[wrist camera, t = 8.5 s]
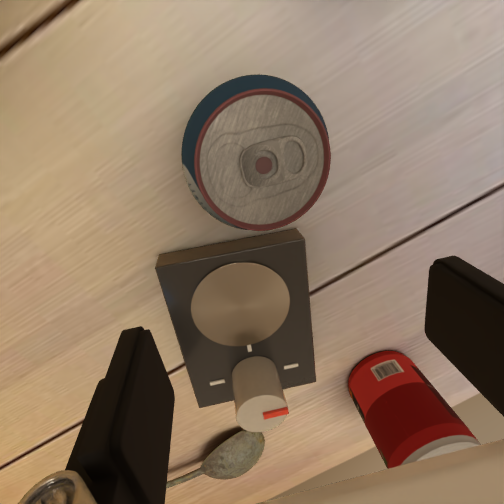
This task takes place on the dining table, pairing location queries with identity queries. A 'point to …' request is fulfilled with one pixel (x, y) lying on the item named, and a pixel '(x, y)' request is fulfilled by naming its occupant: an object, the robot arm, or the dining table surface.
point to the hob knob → (258, 395)
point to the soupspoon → (229, 458)
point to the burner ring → (240, 303)
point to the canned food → (405, 411)
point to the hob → (227, 357)
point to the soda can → (256, 153)
